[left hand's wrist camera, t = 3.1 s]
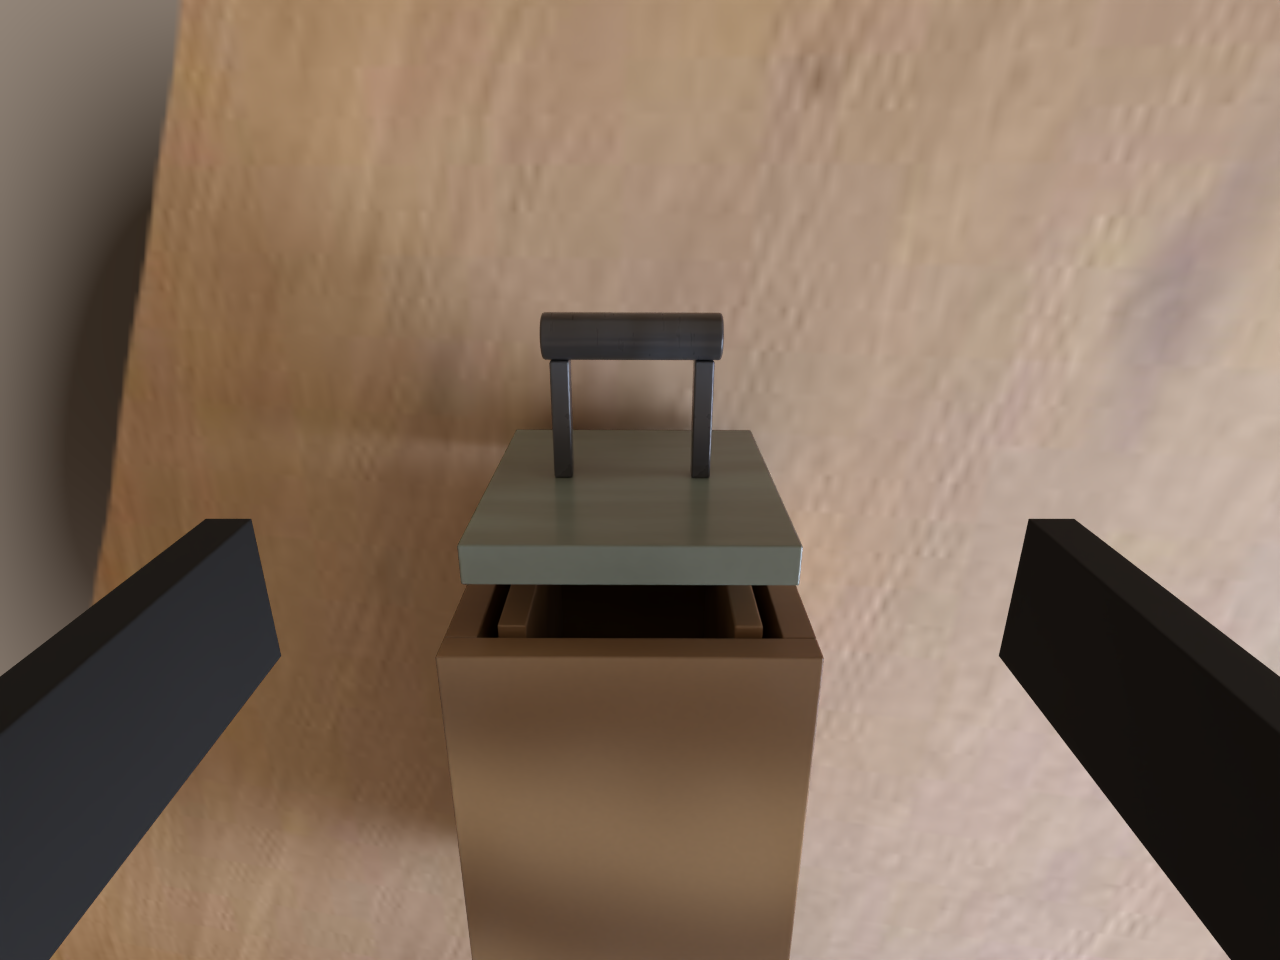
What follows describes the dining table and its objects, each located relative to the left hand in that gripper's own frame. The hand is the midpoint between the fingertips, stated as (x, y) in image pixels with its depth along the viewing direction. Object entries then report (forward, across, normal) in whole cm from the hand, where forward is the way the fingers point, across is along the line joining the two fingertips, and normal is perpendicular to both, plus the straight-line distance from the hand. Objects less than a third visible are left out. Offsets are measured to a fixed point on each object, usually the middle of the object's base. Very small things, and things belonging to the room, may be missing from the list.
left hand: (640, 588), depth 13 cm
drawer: (+16, 0, -9) cm, 18 cm away
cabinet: (+17, 0, -15) cm, 23 cm away
